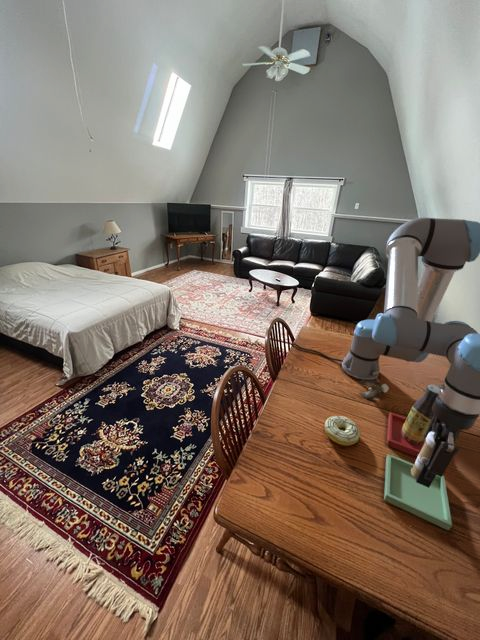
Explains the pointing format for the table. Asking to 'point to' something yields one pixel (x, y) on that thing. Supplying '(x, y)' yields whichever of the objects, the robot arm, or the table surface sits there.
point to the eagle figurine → (373, 388)
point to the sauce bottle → (420, 416)
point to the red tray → (400, 436)
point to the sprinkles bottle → (423, 455)
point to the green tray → (416, 493)
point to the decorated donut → (339, 436)
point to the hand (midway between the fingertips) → (421, 474)
